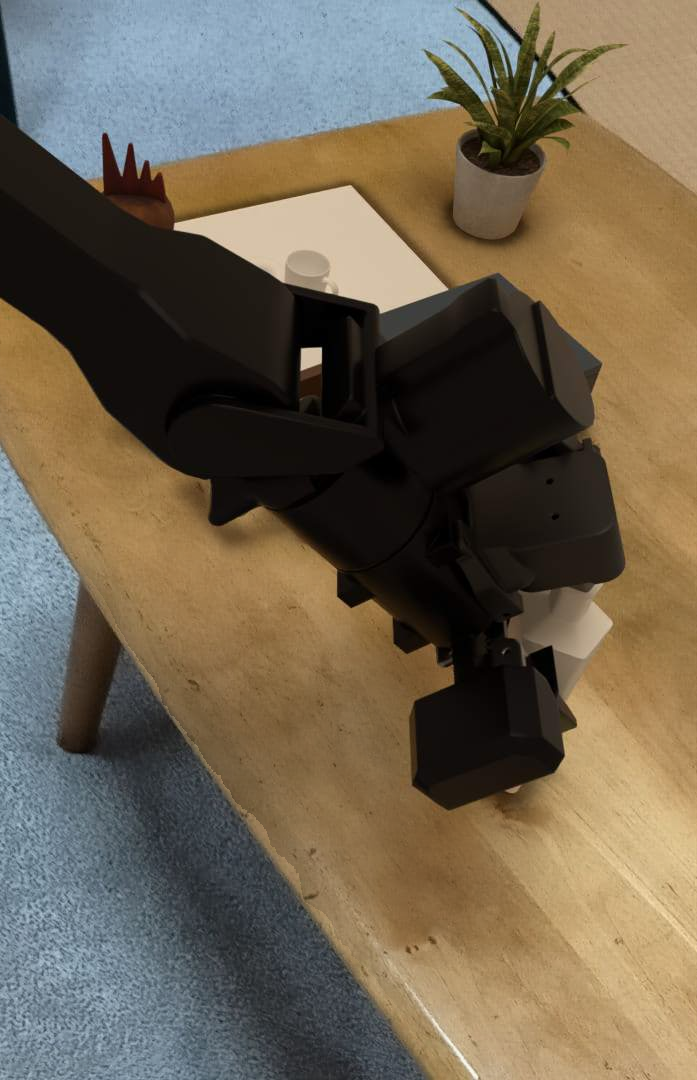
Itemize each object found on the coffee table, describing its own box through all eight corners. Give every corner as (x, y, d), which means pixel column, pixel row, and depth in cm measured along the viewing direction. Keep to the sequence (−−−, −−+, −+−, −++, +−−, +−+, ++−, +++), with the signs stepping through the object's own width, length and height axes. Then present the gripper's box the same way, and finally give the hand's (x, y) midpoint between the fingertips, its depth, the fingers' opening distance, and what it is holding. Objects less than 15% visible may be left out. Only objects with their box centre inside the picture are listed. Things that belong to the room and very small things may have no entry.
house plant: (528, 158, 107) (580, -31, 95) (611, 252, 99) (679, 60, 87) (379, 177, 102) (415, -20, 90) (455, 278, 94) (505, 77, 82)
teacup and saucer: (220, 282, 90) (224, 235, 87) (315, 259, 93) (322, 213, 90) (278, 357, 85) (284, 309, 82) (376, 329, 89) (385, 283, 86)
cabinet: (434, 495, 78) (454, 425, 74) (338, 394, 84) (351, 323, 79) (577, 431, 84) (603, 363, 80) (479, 340, 89) (498, 271, 85)
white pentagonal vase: (549, 741, 67) (637, 559, 56) (532, 806, 64) (621, 628, 53) (469, 711, 68) (541, 526, 57) (448, 775, 65) (520, 592, 54)
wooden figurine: (68, 341, 83) (60, 141, 72) (110, 295, 87) (109, 99, 76) (158, 375, 82) (164, 178, 71) (197, 328, 86) (209, 134, 75)
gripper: (576, 619, 42) (760, 804, 51) (522, 281, 54) (678, 480, 64) (315, 728, 47) (527, 879, 56) (320, 396, 59) (493, 565, 68)
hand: (562, 685), depth 61 cm, fingers closed on white pentagonal vase, 4 cm apart
